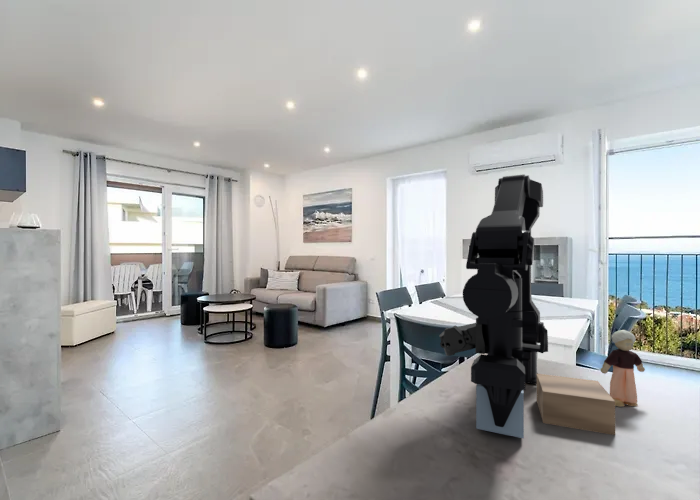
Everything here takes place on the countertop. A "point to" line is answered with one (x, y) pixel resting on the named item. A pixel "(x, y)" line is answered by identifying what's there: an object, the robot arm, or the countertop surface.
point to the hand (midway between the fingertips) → (500, 416)
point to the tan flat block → (575, 403)
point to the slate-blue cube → (486, 420)
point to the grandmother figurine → (623, 369)
